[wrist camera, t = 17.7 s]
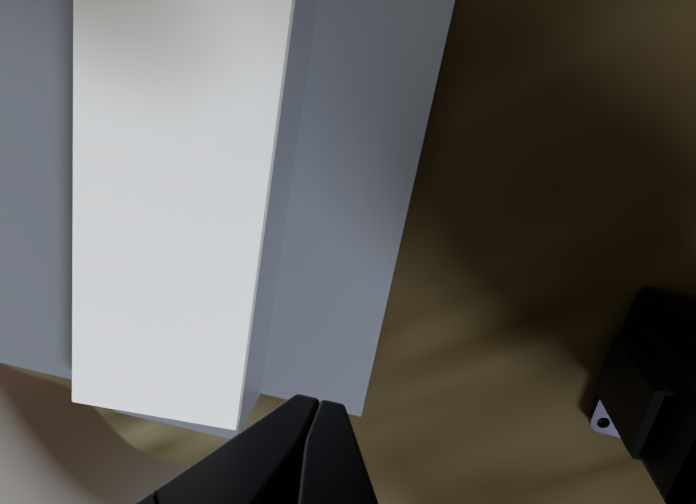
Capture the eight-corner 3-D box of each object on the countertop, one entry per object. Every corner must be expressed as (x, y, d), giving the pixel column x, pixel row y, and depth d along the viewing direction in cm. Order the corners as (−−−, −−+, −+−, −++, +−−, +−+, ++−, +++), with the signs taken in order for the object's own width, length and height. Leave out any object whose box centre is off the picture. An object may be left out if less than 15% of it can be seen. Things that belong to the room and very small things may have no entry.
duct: (534, -355, 15) (572, -496, 11) (362, 405, 24) (352, 468, 20) (-27, -433, 16) (-162, -586, 12) (6, 323, 25) (-67, 368, 21)
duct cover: (356, -460, 12) (355, -486, 11) (239, 420, 20) (235, 430, 19) (89, -517, 12) (75, -546, 11) (80, 392, 20) (71, 401, 19)
